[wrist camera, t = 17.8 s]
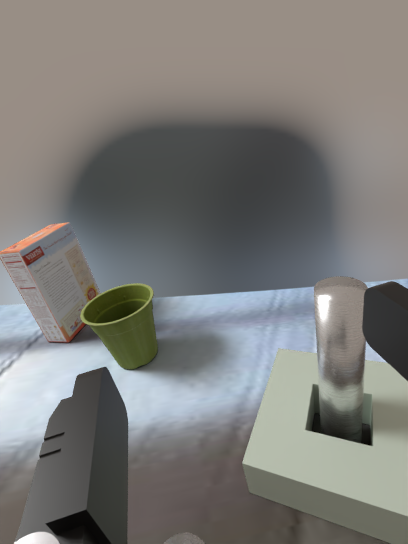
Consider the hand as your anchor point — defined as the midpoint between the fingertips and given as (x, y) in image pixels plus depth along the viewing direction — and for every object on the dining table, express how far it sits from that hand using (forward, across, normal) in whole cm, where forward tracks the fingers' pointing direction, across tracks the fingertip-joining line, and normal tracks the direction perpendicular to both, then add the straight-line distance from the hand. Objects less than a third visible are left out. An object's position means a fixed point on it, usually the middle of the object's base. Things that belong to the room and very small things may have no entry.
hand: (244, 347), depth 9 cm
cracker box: (+54, +24, +30) cm, 66 cm away
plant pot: (+37, +11, +29) cm, 48 cm away
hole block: (+12, -11, +28) cm, 33 cm away
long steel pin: (+12, -11, +28) cm, 33 cm away
